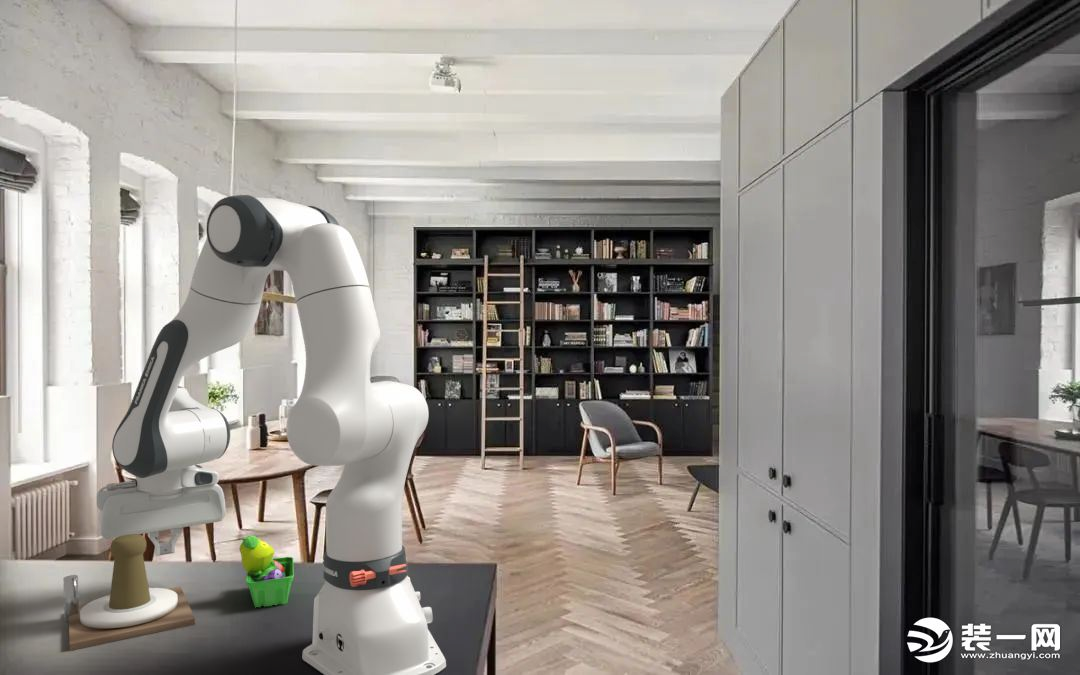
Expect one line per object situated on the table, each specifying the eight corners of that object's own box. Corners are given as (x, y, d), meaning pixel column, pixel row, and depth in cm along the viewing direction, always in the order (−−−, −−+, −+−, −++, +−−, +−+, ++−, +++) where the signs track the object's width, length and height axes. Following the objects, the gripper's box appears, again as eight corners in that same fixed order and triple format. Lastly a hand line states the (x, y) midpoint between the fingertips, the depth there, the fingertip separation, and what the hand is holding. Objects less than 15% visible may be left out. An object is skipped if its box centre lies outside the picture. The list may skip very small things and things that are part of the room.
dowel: (79, 620, 122) (77, 577, 122) (64, 622, 121) (63, 580, 121) (78, 616, 124) (77, 574, 124) (64, 618, 123) (63, 576, 123)
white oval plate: (183, 615, 120) (182, 592, 120) (81, 636, 113) (80, 611, 113) (169, 582, 136) (169, 562, 135) (78, 598, 128) (78, 577, 128)
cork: (131, 611, 119) (129, 542, 119) (99, 607, 120) (97, 540, 120) (159, 597, 125) (157, 531, 125) (128, 593, 126) (127, 529, 126)
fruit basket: (294, 606, 127) (293, 540, 127) (238, 613, 125) (237, 546, 124) (293, 583, 138) (292, 522, 138) (242, 589, 135) (240, 527, 135)
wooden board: (194, 624, 120) (194, 616, 120) (69, 650, 111) (69, 642, 111) (180, 591, 134) (180, 585, 134) (68, 612, 125) (68, 605, 125)
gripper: (99, 488, 124) (100, 570, 125) (227, 472, 137) (228, 547, 137) (93, 481, 129) (95, 560, 130) (218, 467, 142) (219, 539, 142)
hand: (164, 553), depth 134 cm, fingers closed
